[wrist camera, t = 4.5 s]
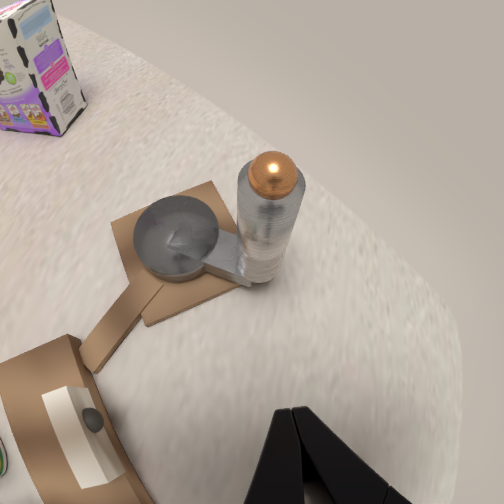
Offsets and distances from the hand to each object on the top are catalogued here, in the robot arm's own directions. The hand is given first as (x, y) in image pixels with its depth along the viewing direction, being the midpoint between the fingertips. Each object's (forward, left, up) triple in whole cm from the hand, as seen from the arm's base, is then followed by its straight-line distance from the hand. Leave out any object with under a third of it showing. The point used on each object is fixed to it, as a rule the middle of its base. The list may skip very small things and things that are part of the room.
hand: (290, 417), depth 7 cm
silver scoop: (+11, -1, -12) cm, 16 cm away
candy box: (+38, +11, -13) cm, 42 cm away
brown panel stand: (+6, +7, -13) cm, 16 cm away
